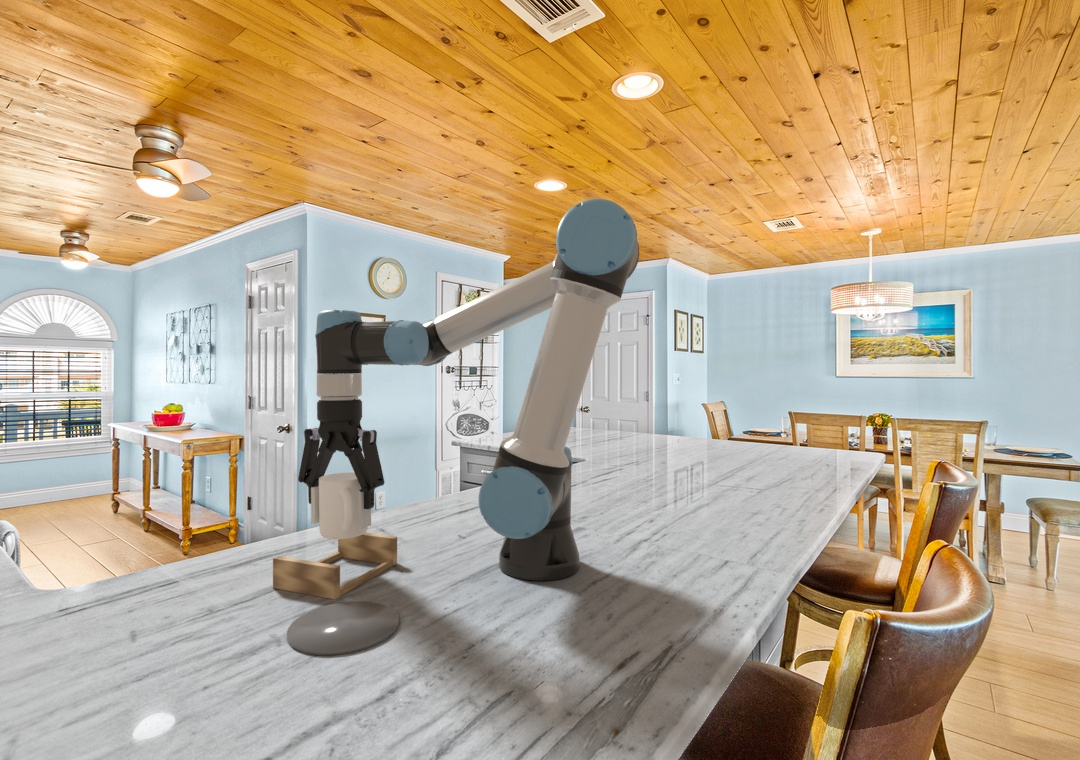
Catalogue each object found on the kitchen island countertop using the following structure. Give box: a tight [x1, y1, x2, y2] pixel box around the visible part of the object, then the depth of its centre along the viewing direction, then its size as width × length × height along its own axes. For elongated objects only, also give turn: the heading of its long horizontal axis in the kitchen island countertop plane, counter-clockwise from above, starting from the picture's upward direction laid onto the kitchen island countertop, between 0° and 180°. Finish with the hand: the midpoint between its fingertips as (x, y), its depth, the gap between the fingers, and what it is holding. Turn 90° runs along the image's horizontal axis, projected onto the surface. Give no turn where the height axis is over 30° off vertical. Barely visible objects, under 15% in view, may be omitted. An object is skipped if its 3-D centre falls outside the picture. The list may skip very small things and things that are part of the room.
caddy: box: [272, 532, 398, 600], centre depth 98 cm, size 13×17×5 cm
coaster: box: [286, 600, 400, 656], centre depth 79 cm, size 15×15×1 cm
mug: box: [318, 471, 369, 540], centre depth 98 cm, size 12×8×10 cm
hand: (341, 524), depth 98 cm, fingers closed on mug, 9 cm apart
